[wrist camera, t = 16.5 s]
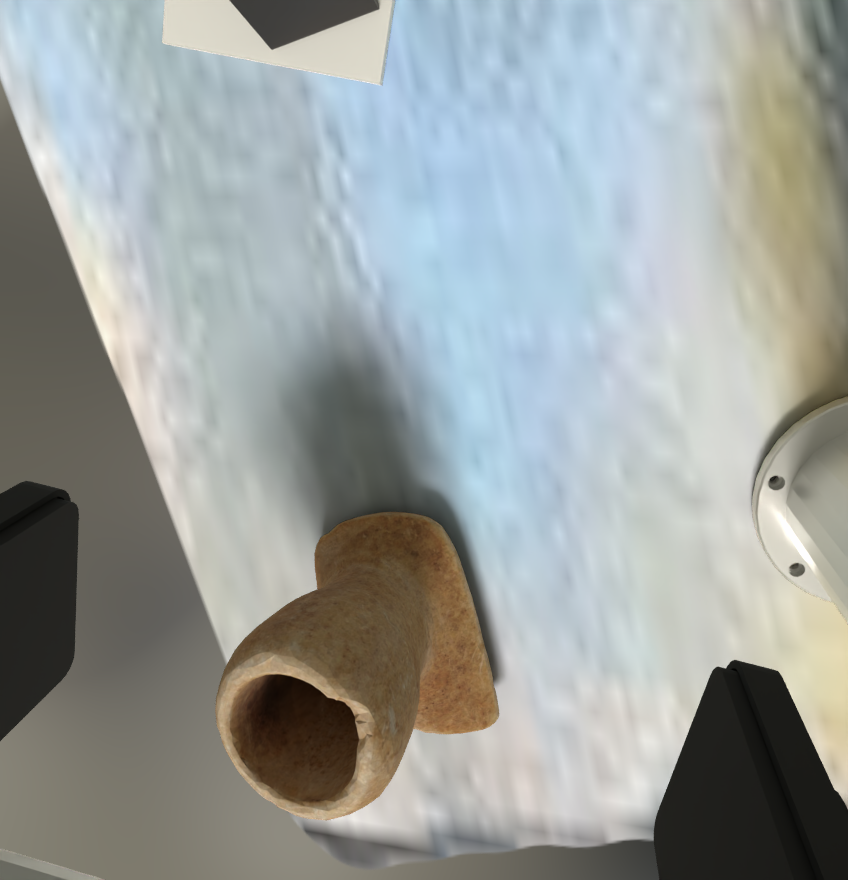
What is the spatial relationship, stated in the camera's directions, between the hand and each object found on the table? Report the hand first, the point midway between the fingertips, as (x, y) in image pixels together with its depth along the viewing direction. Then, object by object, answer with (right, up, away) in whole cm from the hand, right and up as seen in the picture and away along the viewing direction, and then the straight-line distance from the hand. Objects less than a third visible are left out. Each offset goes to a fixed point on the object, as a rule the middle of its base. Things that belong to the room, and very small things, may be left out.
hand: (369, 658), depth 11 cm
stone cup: (-1, -8, +39) cm, 40 cm away
